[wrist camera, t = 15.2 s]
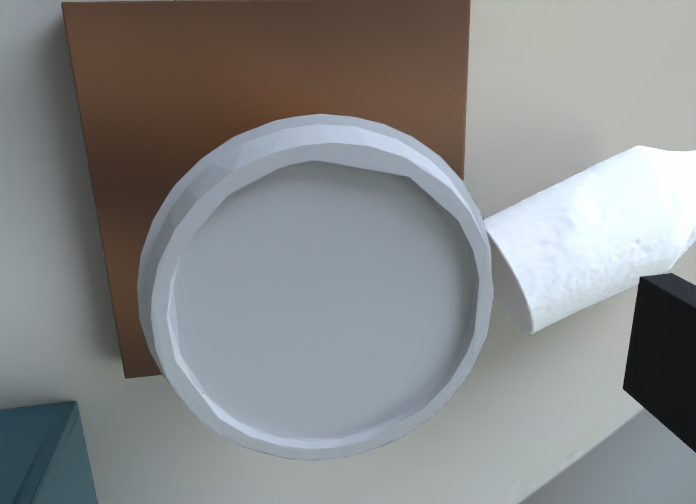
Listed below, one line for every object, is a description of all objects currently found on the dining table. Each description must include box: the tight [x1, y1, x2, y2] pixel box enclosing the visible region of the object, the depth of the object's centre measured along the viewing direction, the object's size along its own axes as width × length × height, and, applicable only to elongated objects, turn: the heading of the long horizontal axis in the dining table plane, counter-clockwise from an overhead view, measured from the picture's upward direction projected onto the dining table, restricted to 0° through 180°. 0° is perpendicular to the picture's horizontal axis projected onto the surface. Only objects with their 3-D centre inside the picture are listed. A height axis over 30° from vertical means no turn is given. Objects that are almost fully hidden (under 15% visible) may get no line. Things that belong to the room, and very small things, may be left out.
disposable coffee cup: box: [137, 114, 494, 460], centre depth 20 cm, size 10×10×12 cm
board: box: [61, 0, 470, 378], centre depth 27 cm, size 16×16×2 cm
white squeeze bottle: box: [483, 146, 696, 335], centre depth 28 cm, size 6×12×6 cm, turn 114°
